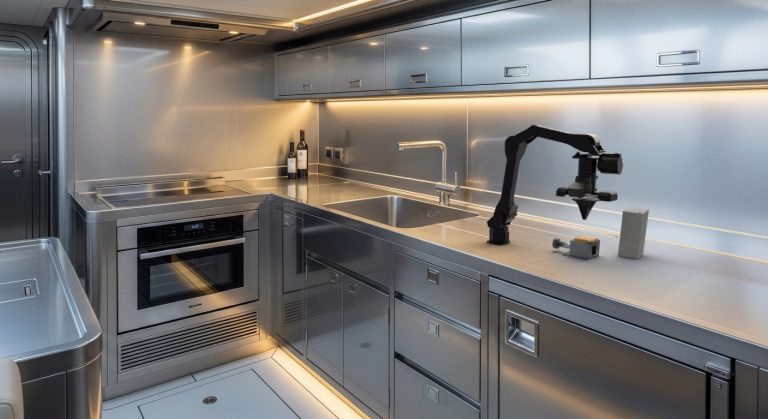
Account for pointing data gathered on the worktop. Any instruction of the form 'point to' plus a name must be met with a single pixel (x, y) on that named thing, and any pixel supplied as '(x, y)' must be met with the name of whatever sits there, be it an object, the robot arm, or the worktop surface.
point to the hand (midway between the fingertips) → (584, 219)
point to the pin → (560, 244)
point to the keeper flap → (586, 239)
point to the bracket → (583, 249)
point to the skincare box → (633, 232)
